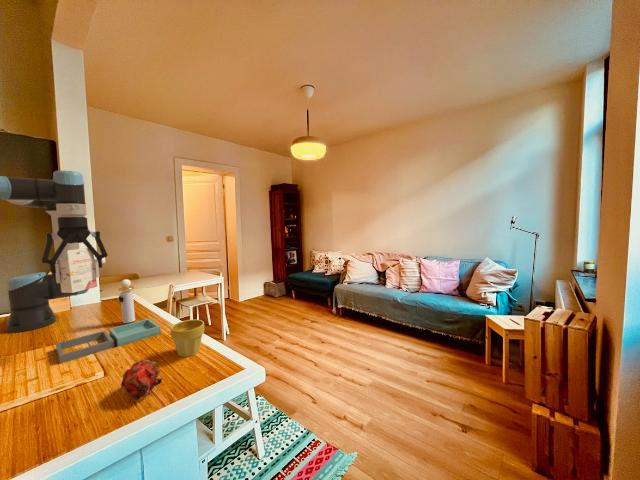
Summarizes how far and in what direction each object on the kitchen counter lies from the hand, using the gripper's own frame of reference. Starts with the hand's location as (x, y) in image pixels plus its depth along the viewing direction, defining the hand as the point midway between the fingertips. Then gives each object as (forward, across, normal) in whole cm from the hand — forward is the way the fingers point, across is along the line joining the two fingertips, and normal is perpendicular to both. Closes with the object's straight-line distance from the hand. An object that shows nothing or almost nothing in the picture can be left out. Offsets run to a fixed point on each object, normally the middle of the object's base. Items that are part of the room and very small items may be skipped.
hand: (78, 279), depth 93 cm
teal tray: (+25, +15, -1) cm, 30 cm away
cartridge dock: (+25, 0, 0) cm, 25 cm away
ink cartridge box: (+4, 0, 0) cm, 4 cm away
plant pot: (+26, +23, -33) cm, 48 cm away
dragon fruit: (+26, +6, -45) cm, 52 cm away
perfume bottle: (+26, +17, +17) cm, 35 cm away
